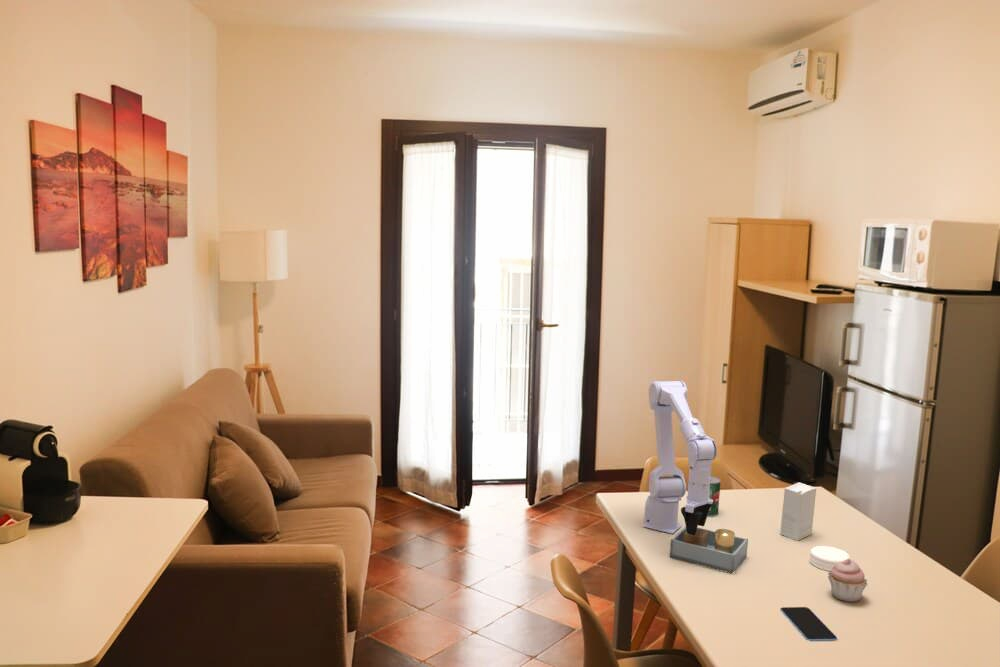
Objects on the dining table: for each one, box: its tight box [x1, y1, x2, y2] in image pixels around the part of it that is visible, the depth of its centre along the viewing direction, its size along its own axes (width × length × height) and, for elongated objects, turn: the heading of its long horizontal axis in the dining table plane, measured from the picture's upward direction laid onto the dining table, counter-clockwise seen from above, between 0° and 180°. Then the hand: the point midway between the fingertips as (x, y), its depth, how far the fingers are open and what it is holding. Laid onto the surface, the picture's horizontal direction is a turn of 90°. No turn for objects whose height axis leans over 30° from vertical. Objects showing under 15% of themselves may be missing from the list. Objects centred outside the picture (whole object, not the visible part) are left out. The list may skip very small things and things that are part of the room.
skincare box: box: [780, 481, 817, 542], centre depth 235 cm, size 8×6×15 cm
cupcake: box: [827, 558, 869, 603], centre depth 197 cm, size 9×9×10 cm
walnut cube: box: [684, 530, 708, 548], centre depth 220 cm, size 5×5×5 cm
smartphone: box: [780, 606, 838, 642], centre depth 184 cm, size 7×1×15 cm
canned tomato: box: [707, 475, 722, 517], centre depth 252 cm, size 8×8×11 cm
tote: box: [669, 526, 749, 574], centre depth 219 cm, size 17×13×5 cm
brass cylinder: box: [714, 528, 735, 554], centre depth 216 cm, size 5×5×7 cm
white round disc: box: [809, 545, 851, 572], centre depth 217 cm, size 10×10×4 cm
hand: (695, 529), depth 220 cm, fingers open, 7 cm apart
